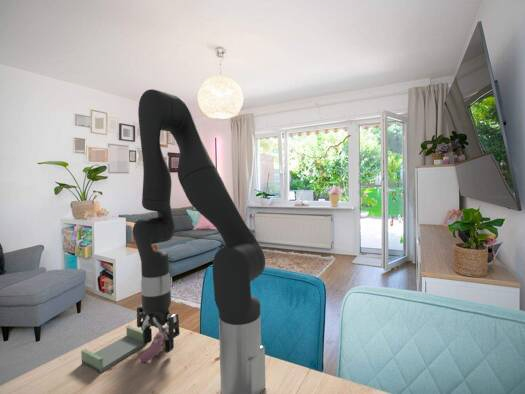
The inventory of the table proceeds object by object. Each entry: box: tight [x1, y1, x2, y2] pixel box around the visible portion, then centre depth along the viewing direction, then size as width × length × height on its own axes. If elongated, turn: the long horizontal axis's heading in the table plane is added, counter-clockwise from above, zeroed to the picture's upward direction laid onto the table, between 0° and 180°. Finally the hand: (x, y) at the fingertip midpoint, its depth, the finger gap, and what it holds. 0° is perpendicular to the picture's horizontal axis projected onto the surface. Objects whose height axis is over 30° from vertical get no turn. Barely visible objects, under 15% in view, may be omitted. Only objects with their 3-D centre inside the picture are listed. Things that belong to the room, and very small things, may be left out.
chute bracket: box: [80, 325, 147, 374], centre depth 74 cm, size 8×14×4 cm, turn 151°
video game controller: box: [139, 326, 169, 363], centre depth 75 cm, size 10×5×7 cm, turn 178°
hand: (158, 346), depth 75 cm, fingers open, 8 cm apart
